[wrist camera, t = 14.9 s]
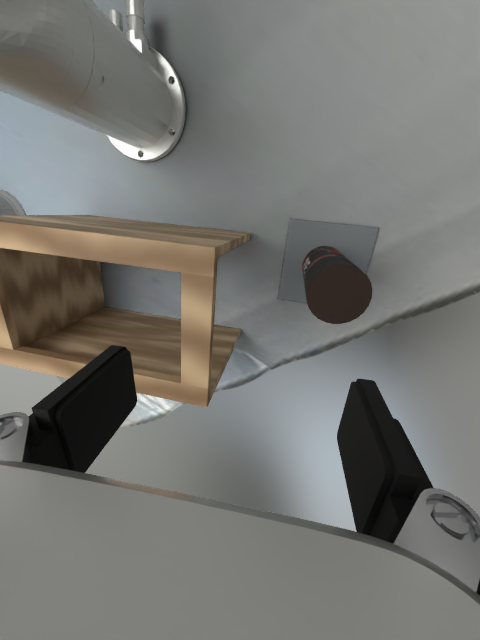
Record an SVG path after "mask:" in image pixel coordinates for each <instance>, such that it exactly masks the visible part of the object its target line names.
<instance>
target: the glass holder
mask: <svg viewBox="0 0 480 640" xmlns="http://www.w3.org/2000/svg"><path fill="white" fill-rule="evenodd" d="M13 215H26V214H25V212H24V209H23V208H22V206H21V204H20V203H19V202H18V200H17V199H16V198H15V197H14V196H12V195H11V194H10V193H8V192H6V191H3V190H0V216H13Z"/></svg>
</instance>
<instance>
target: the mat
mask: <svg viewBox="0 0 480 640" xmlns="http://www.w3.org/2000/svg"><path fill="white" fill-rule="evenodd" d="M378 230H379V228H378V227H368V226H358V225H348V224H338V223H328V222H318V221H308V220H298V219H290V221H289V227H288V234H287V240H286V247H285V254H284V260H283V267H282V273H281V280H280V286H279V293H278V299H281V300H288V301H295V302H301V303H307V300H306V293H305V286H304V279H303V271H302V264H303V261H304V258H305V257H306V255H307V254H308V253H309V252H310V251H311V250H313V249H314V248H317V247H320V246H330V247H333V248H335V249H337V250H338V251H339V252H340V253H341V254H343V255H344V256H345V257H346V258H347V259H349V260H350V261H351V262H352V263H353V264H355V265H356V266H357V267H358V268H359V269H361V270H362V271H363V272H364V273H365V274H366V272H367V269H368V265H369V261H370V258H371V254H372V251H373V247H374V244H375V240H376V237H377V233H378Z"/></svg>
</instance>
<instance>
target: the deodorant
mask: <svg viewBox="0 0 480 640" xmlns="http://www.w3.org/2000/svg"><path fill="white" fill-rule="evenodd" d="M302 271H303V279H304V286H305V293H306V300H307V304H308V307H309V309H310V310H311V312H312V313H313V314H314V315H315V316H316V317H317V318H318V319H320V320H322V321H324V322H327V323H332V324H342V323H346V322H350V321H352V320H354V319H356V318H358V317H359V316H360V315H361V314H362V313H364V311H365V310H366V308H367V307H368V306H369V303H370V301H371V298H372V287H371V282H370V280H369V279H368V277H367V275H366V274H365V273H364V272H363V271H362V270H361V269H359V268H358V267H357V266H356V265H355V264H353V263H352V262H351V261H350V260H349V259H347V258H346V257H345V256H344V255H343V254H341V253H340V252H339V251H338V250H337V249H335V248H333V247H330V246H320V247H317V248H314V249H313V250H311V251H310V252H309V253H308V254H307V255H306V257H305V258H304V261H303V264H302Z"/></svg>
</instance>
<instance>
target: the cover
mask: <svg viewBox="0 0 480 640" xmlns="http://www.w3.org/2000/svg"><path fill="white" fill-rule="evenodd" d="M248 240H250V233H247V232H238V231H229V230H220V229H210V228H201V227H192V226H183V225H174V224H165V223H156V222H147V221H138V220H128V219H119V218H110V217H101V216H92V215H13V216H0V364H4V365H9V366H14V367H18V368H23V369H28V370H33V371H37V372H42V373H47V374H51V375H56V376H61V377H66V378H70V377H72V376H73V375H74V374H75V373H77V372H78V371H79V370H80V369H82V368H83V367H84V366H86V365H87V364H88V363H89V362H91V361H92V360H93V359H94V358H96V357H97V356H98V355H99V354H101V353H102V352H103V351H105V350H106V349H107V348H108V347H110V346H111V345H116V346H124V347H126V348H127V350H128V351H130V353H131V359H132V366H133V374H134V381H135V388H136V392H137V393H141V394H146V395H151V396H155V397H160V398H165V399H170V400H174V401H179V402H184V403H189V404H193V405H198V406H203V407H207V406H208V404H209V402H210V400H211V397H212V395H213V393H214V391H215V389H216V386H217V384H218V382H219V380H220V378H221V375H222V373H223V371H224V369H225V367H226V364H227V362H228V360H229V358H230V356H231V353H232V351H233V349H234V347H235V345H236V342H237V340H238V338H239V336H240V331H241V329H236V328H230V327H224V326H218V325H214V314H215V296H216V278H217V260H218V257H220V256H222V255H224V254H225V253H227V252H229V251H231V250H232V249H234V248H236V247H238V246H239V245H241V244H243V243H245V242H247V241H248ZM100 261H101V262H108V263H115V264H123V265H130V266H137V267H144V268H152V269H159V270H166V271H174V272H181V319H175V318H169V317H163V316H157V315H151V314H145V313H139V312H133V311H126V310H120V309H114V308H108V307H105V300H104V291H103V283H102V275H101V266H100Z"/></svg>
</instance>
